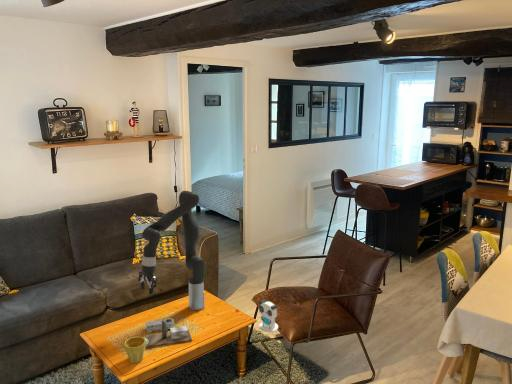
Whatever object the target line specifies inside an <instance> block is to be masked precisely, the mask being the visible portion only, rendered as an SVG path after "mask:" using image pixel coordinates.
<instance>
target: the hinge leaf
mask: <svg viewBox="0 0 512 384" xmlns="http://www.w3.org/2000/svg"><path fill="white" fill-rule="evenodd" d="M162 320H166V329H170V328H173V327H175V319H174V318H170V317H169V318H165V319H158V320H151V321H146V322H145V329H146V330H147V331H146V333H147V332H149V333H151V332H150V331H155V332H158V331H157V330H162Z"/></svg>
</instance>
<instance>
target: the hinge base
mask: <svg viewBox="0 0 512 384" xmlns="http://www.w3.org/2000/svg"><path fill="white" fill-rule="evenodd" d="M161 320H162V331H161V333H154V334H148V335H147V334H146V335H141V336H140V335H139V337H145V338H147V339H148V340H149V343H148V344H146V347H145V348H146V349H150V348H149V347H152V348H156V347H157V346H159V347H164V346H163V345H165V346H170V344H171V345H176V344H183V343H188V342H193V340H192V338H193V337H192V336H191V333H190V330H189V328H188V325H182V326H174V328H170V330H169V331H168V330H166V320H165V319H164V320H163V319H161ZM157 348H158V347H157Z"/></svg>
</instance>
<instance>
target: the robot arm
mask: <svg viewBox="0 0 512 384" xmlns="http://www.w3.org/2000/svg"><path fill="white" fill-rule="evenodd" d="M199 202H200V196H199V194H198V193H196V192H193V191H189V190H182V191H181V192H180V193H179V195H178V203H179V205H178V206H177V207H175V208H173V209H171V210H169V211H167V212H165V213H164V214H163V215H162V216H161V217H160V218H159V219H158V220H156V221H155V222H153V223H151V224H149V225H147V227H145V228H144V229H143V231H142V233H141V235H142V238H143V239H144V240H146V241H148V244H145V245H144V247H143V249H142V250H143V252H142V260H141V270H140V271H139V272H138V280H137V281H138V282H139V283H140V284H139V285H140V287H139V289H140V290H141V291H142V290H145V284H146V283H147V285H148V286H149V288H148V295H153V294H154V288H157V279H158V278H157V277H158V276H154V273H155V272H156V265H157V264H156V263H157V249H158V247H159V244H160V241H161V233H160V232H165V231H167V229H169V227H170V226H172V225H173V224H174V223H175V222H176V221H177V220H178V219H180V218H181V219H182V220H181V221H182V227H183V228H182V230H183V238H184V245H185V246H184V247H185V248H184V249H185V266H186V268H187V270H188V271H192V274H191V275H190V276H189V277H188V308H189V309H190V310H192V311H200V310H202V309H205V305H206V304H205V302H206V301H205V293H204V292H205V289H204V288H205V287H204V286H205V285H204V283H205V282H204V279H205V275H206V263H205V260H204V259H203V258H202V257H199V256H197V252H196V248H197V244H198V242H199V239H200V228H199V224H198V222H197V220H196V218H195V216H194V213H193V210H192V209H194V208H195V207H196V206H198V204H199ZM145 282H146V283H145Z"/></svg>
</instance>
